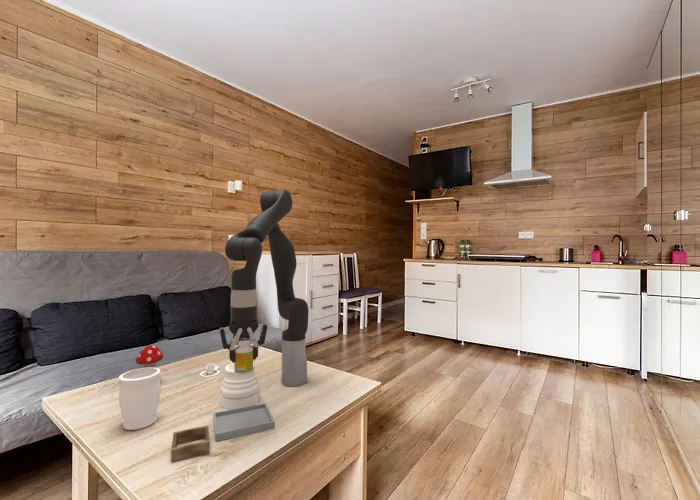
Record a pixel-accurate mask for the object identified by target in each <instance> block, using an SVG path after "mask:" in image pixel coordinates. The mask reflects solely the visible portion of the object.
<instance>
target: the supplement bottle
mask: <svg viewBox="0 0 700 500" xmlns="http://www.w3.org/2000/svg"><path fill="white" fill-rule="evenodd" d="M251 344H252V340H251V338H243V339H238V341H237V343H236V345H237V346H235V348H234V349H235V362H234V372H235V373H236V374H239V375H244V374H249V373H251V372H252V371H253V363H254V360H253V345H251Z"/></svg>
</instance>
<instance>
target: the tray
mask: <svg viewBox="0 0 700 500" xmlns="http://www.w3.org/2000/svg"><path fill="white" fill-rule="evenodd" d="M212 413H213V414H212V416H213V417H212V421H213V430H214V440H215V443H216V442H220V441H225V440H229V439H234V438H238V437H242V436H248V435H252V434H257V433H261V432H265V431H269V430H270V431H271V430H273V429H275V420H274V417H273V415H272V412H271V411H270V408H269V406H268V404H267V402H263V403H256V404H255V405H251V406H246V407H240V408H235V409H226V410H219V411H215V412H212Z"/></svg>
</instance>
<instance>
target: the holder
mask: <svg viewBox="0 0 700 500" xmlns="http://www.w3.org/2000/svg"><path fill="white" fill-rule="evenodd" d="M202 439H204V441H200V442H195V441H198V440H202ZM171 442H172V443H171V449H170V451H171V452H170V454H171V455H170V457H171V458H170V460H171V463H173V462H177V461H182V460H186V459H187V460H188V459H190V458H195V457H199V456H204V455H208V454H210V429H209V424H208V425H203V426H198V427H192V428H188V429H183V430H179V431H173V435H172V441H171ZM188 442H195V443H189V444H185V445H180V446H177V445H179V444H183V443H188Z"/></svg>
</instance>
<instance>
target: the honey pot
mask: <svg viewBox="0 0 700 500" xmlns="http://www.w3.org/2000/svg"><path fill="white" fill-rule="evenodd" d="M255 368H256V365H255V363H254V362H253V371H252V372H251V373H249V374H244V375H239V374H236V373H235V372H234V363H232V361H230V362H229V364H227V365H225V368H224V371H225V375H224V377H223V381H222V384H221V385H220V388H219V389H220V391H219V392H220V395H219V397H220V401H219V402H220V407H221V408H223V409H226V410H230V409H235V408H240V407H246V406H251V405H256V404H258V403H259V401H260V394H261V393H260V391H261V390H260V385H261V384H260V382H259V380H258V377H257V373H256V371H255Z"/></svg>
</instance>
